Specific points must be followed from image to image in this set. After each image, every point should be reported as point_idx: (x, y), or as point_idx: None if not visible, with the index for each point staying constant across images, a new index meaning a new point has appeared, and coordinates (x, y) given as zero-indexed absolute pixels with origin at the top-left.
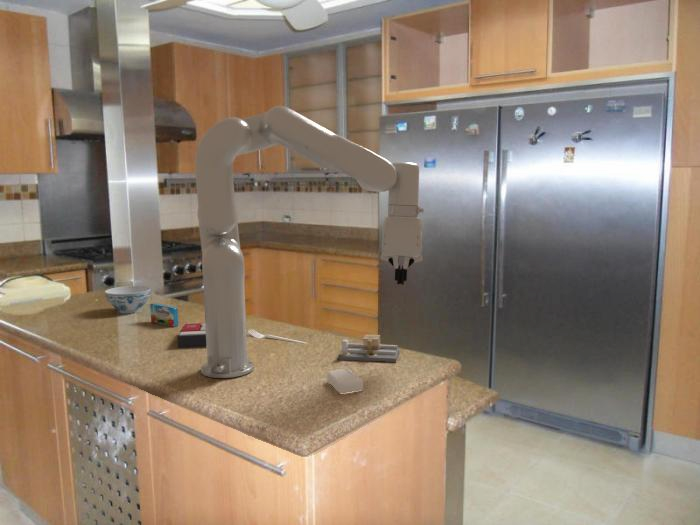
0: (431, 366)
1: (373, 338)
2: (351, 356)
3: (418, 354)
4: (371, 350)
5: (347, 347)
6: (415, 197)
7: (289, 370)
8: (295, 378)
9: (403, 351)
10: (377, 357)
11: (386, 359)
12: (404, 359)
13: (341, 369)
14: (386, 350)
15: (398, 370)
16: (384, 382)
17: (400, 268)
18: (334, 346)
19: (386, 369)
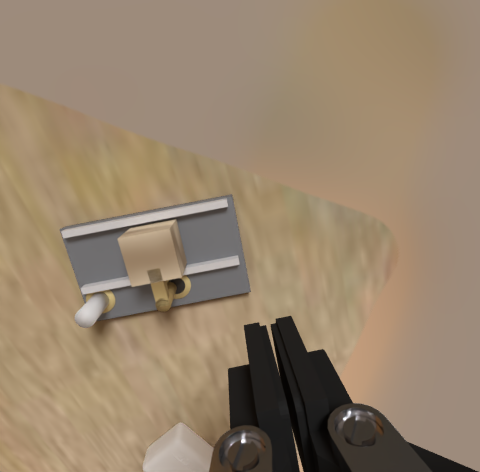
0: (343, 286)
1: (163, 275)
2: (128, 314)
3: (291, 198)
4: (174, 294)
5: (102, 310)
6: None
7: (29, 418)
8: (72, 452)
9: (242, 184)
10: (199, 299)
11: (224, 295)
12: (264, 255)
13: (167, 455)
14: (201, 231)
15: (270, 338)
16: None
17: (287, 441)
18: (20, 205)
19: (241, 341)
